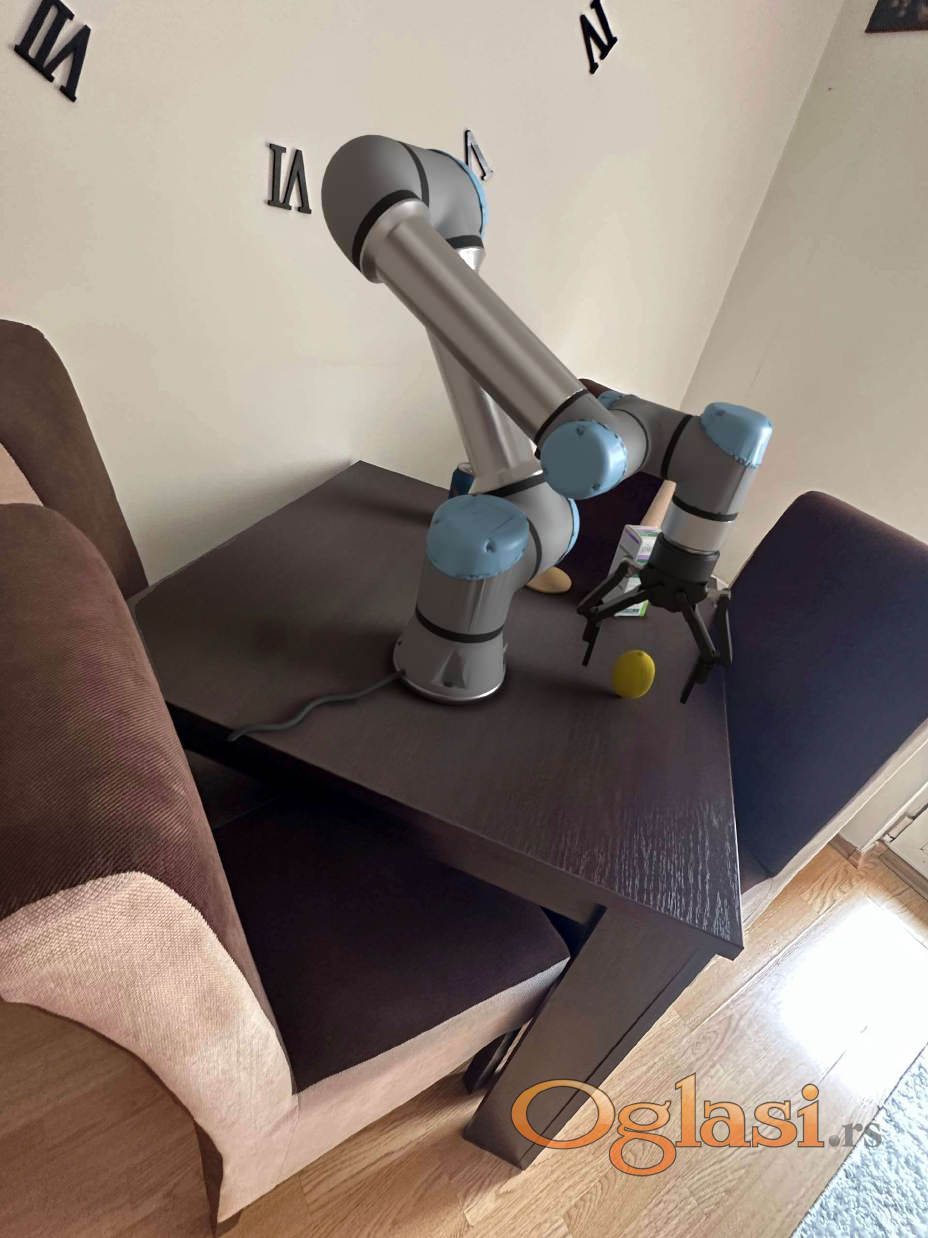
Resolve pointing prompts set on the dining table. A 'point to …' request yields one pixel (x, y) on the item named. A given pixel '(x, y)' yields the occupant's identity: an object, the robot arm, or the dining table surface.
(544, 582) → the coaster
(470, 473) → the soda can
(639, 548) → the syrup box
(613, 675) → the lemon
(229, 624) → the dining table surface
